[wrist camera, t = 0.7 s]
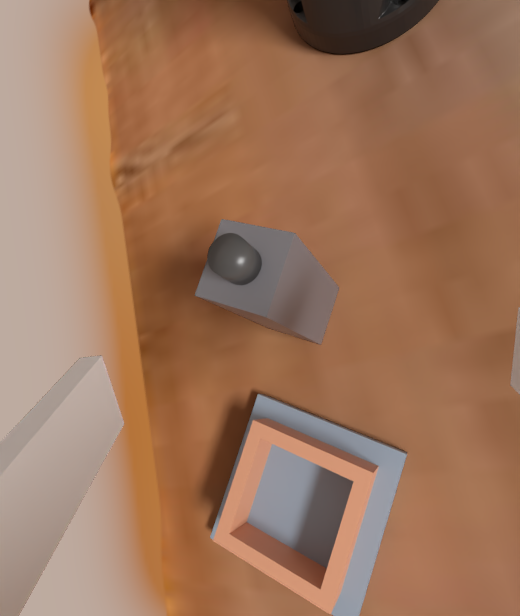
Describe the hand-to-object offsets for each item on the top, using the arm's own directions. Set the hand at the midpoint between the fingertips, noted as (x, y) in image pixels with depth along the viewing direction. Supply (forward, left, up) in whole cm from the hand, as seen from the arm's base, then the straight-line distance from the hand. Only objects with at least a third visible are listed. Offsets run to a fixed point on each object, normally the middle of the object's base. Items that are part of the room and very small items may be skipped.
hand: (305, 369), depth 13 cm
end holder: (+10, -3, -19) cm, 22 cm away
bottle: (-4, -8, -19) cm, 21 cm away
